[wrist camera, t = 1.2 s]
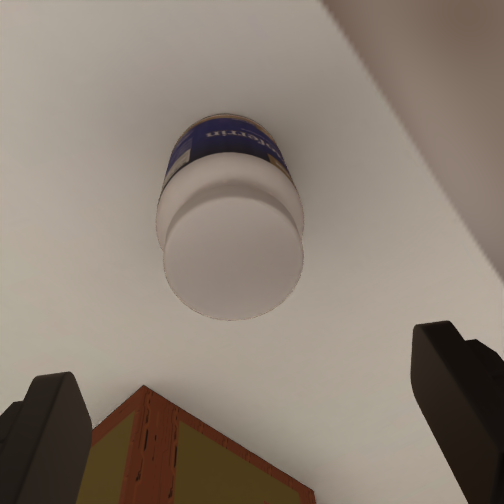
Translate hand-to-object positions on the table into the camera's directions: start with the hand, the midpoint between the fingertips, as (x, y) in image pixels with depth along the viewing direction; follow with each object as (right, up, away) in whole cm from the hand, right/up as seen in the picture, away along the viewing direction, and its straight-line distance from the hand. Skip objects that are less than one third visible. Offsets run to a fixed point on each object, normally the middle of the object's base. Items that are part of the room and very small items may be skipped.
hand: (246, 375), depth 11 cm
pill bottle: (-1, +7, +13) cm, 15 cm away
